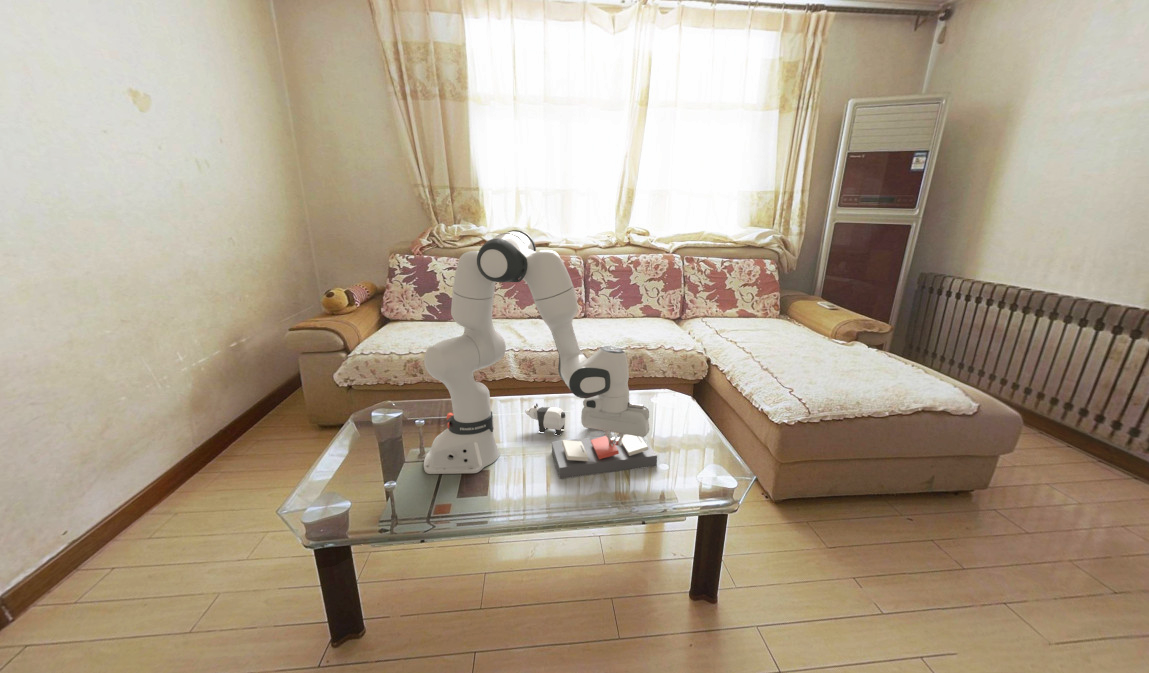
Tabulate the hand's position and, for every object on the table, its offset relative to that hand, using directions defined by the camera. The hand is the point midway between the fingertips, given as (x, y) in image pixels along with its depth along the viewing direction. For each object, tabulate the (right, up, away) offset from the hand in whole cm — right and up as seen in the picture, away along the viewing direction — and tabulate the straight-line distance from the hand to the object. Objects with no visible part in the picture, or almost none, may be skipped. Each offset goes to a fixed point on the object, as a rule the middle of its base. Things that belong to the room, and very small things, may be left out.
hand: (615, 444), depth 125 cm
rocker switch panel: (-4, -5, +3) cm, 7 cm away
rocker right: (+6, 0, +2) cm, 6 cm away
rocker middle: (-3, -1, 0) cm, 3 cm away
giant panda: (-22, -1, +22) cm, 31 cm away
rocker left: (-12, -1, -2) cm, 12 cm away
